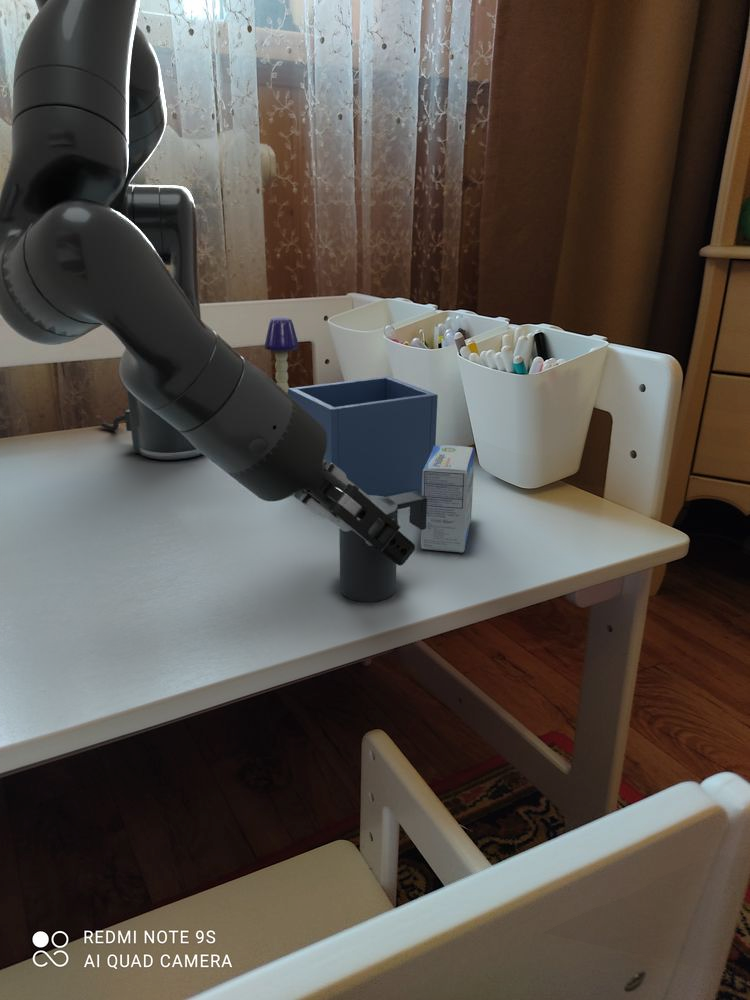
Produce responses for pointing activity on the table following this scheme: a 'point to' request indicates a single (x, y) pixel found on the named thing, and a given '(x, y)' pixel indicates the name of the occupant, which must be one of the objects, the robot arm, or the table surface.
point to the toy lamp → (281, 346)
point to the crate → (375, 431)
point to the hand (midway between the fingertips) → (380, 537)
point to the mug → (375, 552)
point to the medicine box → (448, 498)
